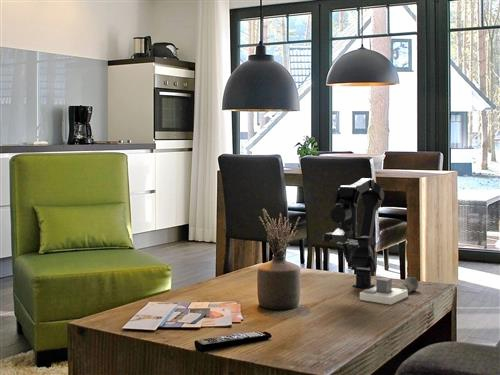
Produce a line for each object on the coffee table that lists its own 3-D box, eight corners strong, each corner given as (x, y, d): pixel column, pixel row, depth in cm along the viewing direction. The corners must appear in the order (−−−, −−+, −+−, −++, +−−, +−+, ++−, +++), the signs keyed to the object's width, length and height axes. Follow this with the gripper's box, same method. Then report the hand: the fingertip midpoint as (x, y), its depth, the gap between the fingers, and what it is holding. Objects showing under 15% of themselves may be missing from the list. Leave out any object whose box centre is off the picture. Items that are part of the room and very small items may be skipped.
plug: (381, 296, 254) (381, 277, 253) (391, 298, 252) (391, 278, 251) (376, 298, 251) (376, 279, 250) (386, 300, 248) (386, 280, 248)
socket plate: (377, 292, 260) (377, 283, 260) (407, 296, 253) (407, 288, 253) (359, 299, 249) (359, 290, 249) (390, 304, 242) (390, 295, 242)
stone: (404, 298, 255) (421, 284, 255) (394, 286, 257) (411, 272, 257) (404, 299, 265) (421, 285, 264) (395, 287, 266) (411, 274, 266)
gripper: (315, 220, 253) (314, 262, 255) (361, 224, 242) (360, 268, 244) (330, 217, 262) (330, 258, 264) (375, 221, 251) (375, 264, 252)
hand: (348, 262), depth 256 cm, fingers closed
